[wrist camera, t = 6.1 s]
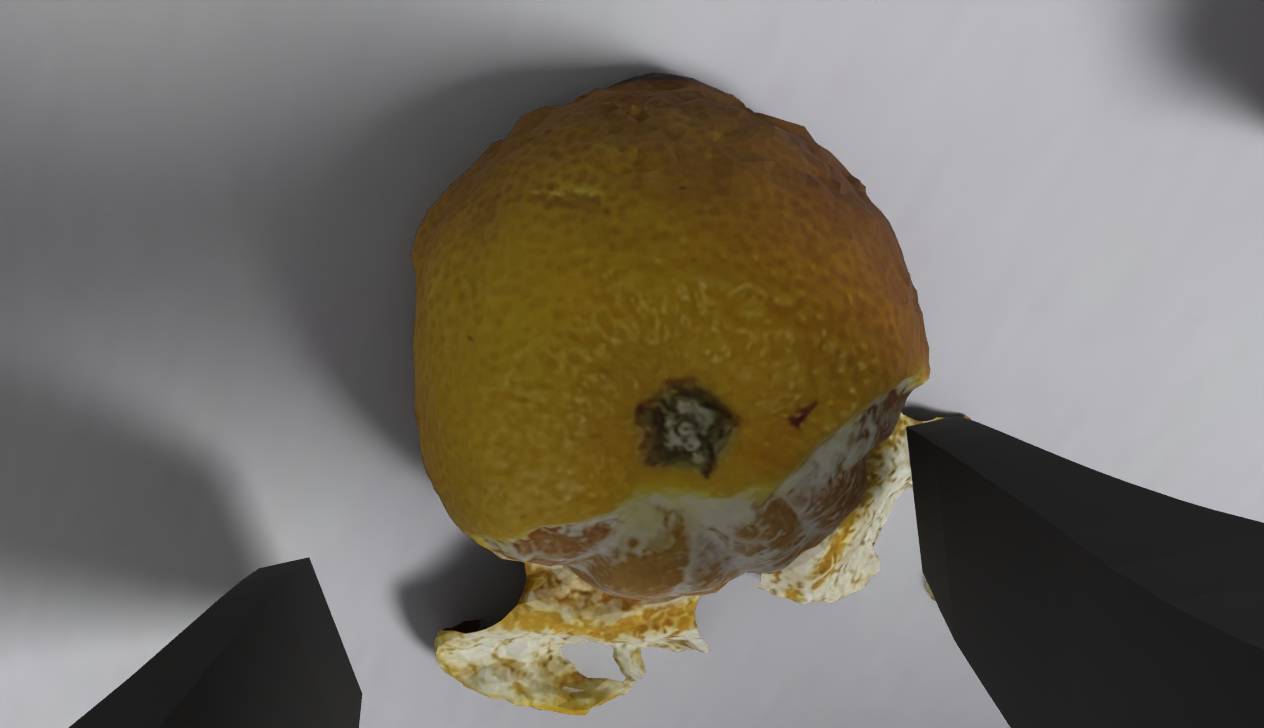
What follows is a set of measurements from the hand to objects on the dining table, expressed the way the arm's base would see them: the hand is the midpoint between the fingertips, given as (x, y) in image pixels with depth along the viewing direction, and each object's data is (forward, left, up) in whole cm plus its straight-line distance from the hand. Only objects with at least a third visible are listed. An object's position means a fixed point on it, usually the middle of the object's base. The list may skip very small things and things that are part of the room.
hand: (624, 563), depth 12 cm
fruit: (0, -1, -2) cm, 2 cm away
